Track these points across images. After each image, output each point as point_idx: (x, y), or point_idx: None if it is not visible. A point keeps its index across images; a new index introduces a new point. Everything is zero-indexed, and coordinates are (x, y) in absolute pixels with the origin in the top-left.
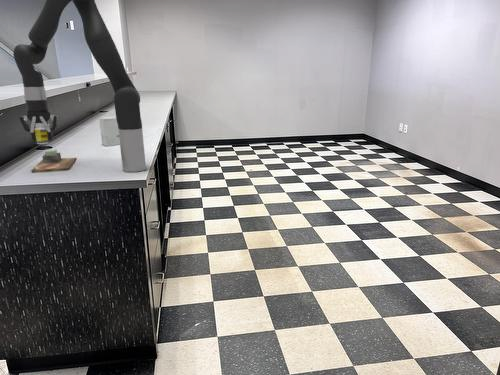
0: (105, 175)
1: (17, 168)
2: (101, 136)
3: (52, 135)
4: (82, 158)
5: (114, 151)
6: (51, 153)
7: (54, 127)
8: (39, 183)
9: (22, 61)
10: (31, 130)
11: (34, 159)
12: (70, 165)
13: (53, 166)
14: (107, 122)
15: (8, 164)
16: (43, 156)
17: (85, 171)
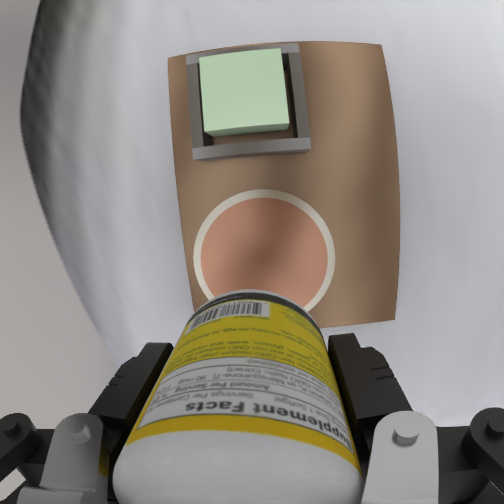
0: (492, 390)
1: (90, 215)
2: None
3: (393, 382)
4: (399, 30)
5: None
6: (258, 129)
7: (474, 502)
8: None
9: None
10: (113, 498)
11: (114, 18)
12: (398, 264)
13: (305, 284)
14: None
15: (31, 126)
16: (201, 159)
17: (452, 341)
